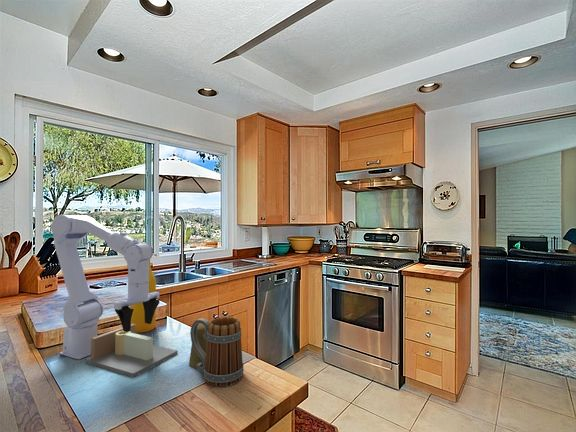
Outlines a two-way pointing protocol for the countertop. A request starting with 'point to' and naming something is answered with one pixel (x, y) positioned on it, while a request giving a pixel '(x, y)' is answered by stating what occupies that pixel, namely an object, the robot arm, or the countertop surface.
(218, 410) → the countertop surface
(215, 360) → the mug
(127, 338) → the door
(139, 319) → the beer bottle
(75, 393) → the countertop surface
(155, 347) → the cabinet base
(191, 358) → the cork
